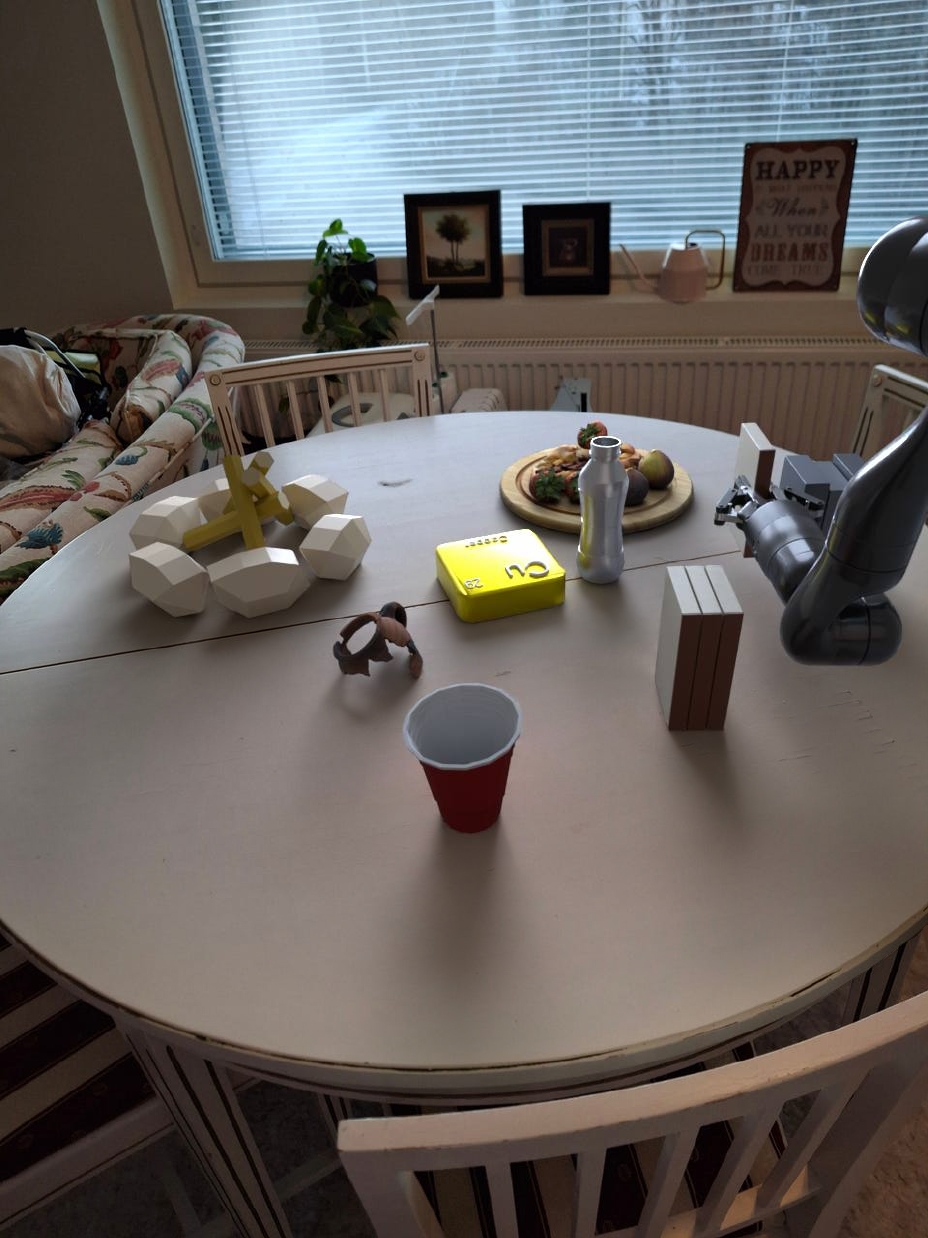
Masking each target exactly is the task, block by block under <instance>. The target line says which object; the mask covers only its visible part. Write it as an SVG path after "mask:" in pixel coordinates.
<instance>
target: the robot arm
mask: <svg viewBox="0 0 928 1238" xmlns="http://www.w3.org/2000/svg"><path fill="white" fill-rule="evenodd" d="M855 294H856V295H855V296H856V306H857V310H858V314H859V317H860V319H861V322H862V324H863V325H864V327H865V328H866V329H867V330H868V332H869V333H870V334H872V335H873V336H874V337H876V338H877V339H878V340H879V341H881V342H883V343H885V344H887V345H891V346H893V347H896V348H899V349H901V350H904V351H907V352H909V353H912V354H915V355H917V356H919V357H924V358H926V359H928V214H920V215H916V216H914V217H911V218H908V219H906V220H903V221H901V222H899V223H898V224H896V225H895V226H893V227H891V228H890V229H889V230H888V231H887V232H885V233H884V234H883V235H882V236H881V237H880V238H879V239H878V240H877V241H876V242H875V243H874V245H872V247H871V249H869V251H868V253H867V255H866V256H865V258H864V260H863V261H862V264H861V267H860V270H859V273H858V277H857V281H856V293H855ZM865 462H866V463H865V464H864V465H863V466H862V467H861V468H860V469H859V470H858V471H857V472H856V473H855V474H854V475H853V476H852V478H851V479H850V480H849V482H848V483H847V485H846V487H845V489H844V490H843V492H842V494H841V496H840V498H839V501H838V503H837V506H836V509H835V513H834V516H833V519H832V522H831V526H830V529H829V532H828V535H827V537H826V536H825V534H824V533H823V531H822V530H821V529H820V527H819V526H818V524H817V523H818V522H821V519H822V515H823V510H824V505H825V502H824V501H822V500H820V499H817V498H815V497H813V496H811V495H809V494H806V493H804V492H802V491H800V490H798V489H796V488H793V487H790V486H787V487H784V490H783V489H779V486H778V484H777V485H776V484H774V483H773V481H772V480H771V482H770V488H769V494H768V499H763V498H762V497H761V495H760V494H759V493H758V492H757V491H753V490H752V488H751V485H750V483H749V482H748V480H747V478H746V477H745V475H739V476H738V479H735V483H734V488H733V487H732V488H731V487H730V488H728V489H727V490H726V492H725V493H724V494H723V495H722V497H721V498H720V500H719V501H718V502H717V504H716V505H715V512H714V518H713V519H714V520H713V524H714V525H715V526H718V527H722V526H724V525H725V524H726V523H728V522H732V523H735V524H736V527H737V528H738V529H740V530H742V531H743V532H744V535H745V538H746V541H747V543H748V545H749V547H750V549H751V551H752V553H753V554H754V556H755V558H754V559H755V562H756V563H757V564H758V567H759V568H760V569H761V571H762V573H763V575H764V576H765V577H766V578H767V580H768V581H769V582H770V584H771V585H772V587H773V589H774V590H775V592H776V595H777V596H778V598H779V600H780V602H781V603H782V605H783V606H784V609H783V612H782V614H781V618H780V622H779V639H780V643H781V646H782V648H783V650H784V653H785V654H787V656H788V657H789V659H791V660H793V662H795V663H797V664H799V665H802V666H809V667H812V666H813V667H873V666H879V665H882V664H884V663H887V662H889V660H891V659H893V658H894V656H895V655H897V652H898V651H899V649H900V648H901V645H902V641H903V638H904V637H903V636H904V628H903V622H902V618H901V615H900V613H899V611H898V609H897V606H896V605H895V604H894V602H893V601H892V599H890V597H889V596H888V595H887V594H886V592H888V591H890V590H893V589H895V587H897V586H898V585H899V584H900V583H901V581H902V580H903V578H904V576H905V574H906V572H907V570H908V567H909V564H910V562H911V560H912V557H913V554H914V551H915V549H916V547H917V544H918V541H919V539H920V537H921V534H922V532H923V530H924V529H923V528H924V526H925V524H926V521H927V518H928V403H926V405H925V407H924V409H923V410H922V411H921V412H920V414H919V415H918V416H917V417H916V418H915V420H914V421H912V423H911V424H910V425H908V426H907V427H906V429H904V431H902V432H901V433H900V434H898V435H897V436H896V438H894V439H893V440H892V441H891V442H889V443H888V444H887V445H886V446H884V447H883V448H882V449H881V450H879V451H878V452H876V454H873V456H872V457H871V458H869V459H868V460H867V461H865ZM793 497H795V498H796V500H797V501H793V500H792V499H793ZM737 505H739V506H740V508H741V510H740V511H739V512H738V513H736V512H735V508H736V506H737Z"/></svg>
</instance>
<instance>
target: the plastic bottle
mask: <svg viewBox="0 0 928 1238" xmlns="http://www.w3.org/2000/svg"><path fill="white" fill-rule="evenodd" d="M621 443H622V442H621V440H620V439H619V438H617V437H614V436H608V437H607V436H603V437H597V438H594V439H592V441H591V449H590V452H589V455H590V457H591V459H590V461H589V462H588V463H587V464H586V465H585V466H584V468H583V469H582V470H581V472H580V475H579V478H578V488H579V496H580V503H581V517H582V518H581V533H580V534H579V542H578V544H579V545H578V547H577V551H576V556H575V564H576V565H575V566H576V571H577V573H578V574H579V576H580V577H581V578H582V579H583V580H585V581H587V582H589V583H593V584H609V583H612V582H615V581H617V580H618V578H619V577H620V576H621V575H622V574H623V572H624V568H625V563H626V560H625V552H624V546H623V545H624V544H623V534H622V518H623V511H624V505H625V500H626V495H627V491H628V485H629V478H628V475H627V472H626V470H625V468H624V467H623V465H622V464H621V463H620V461H619V460H618V458H619V457H620V455H621V451H620V446H621Z"/></svg>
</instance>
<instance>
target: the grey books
mask: <svg viewBox="0 0 928 1238" xmlns="http://www.w3.org/2000/svg"><path fill="white" fill-rule="evenodd" d="M866 462H867V461H865V460H864V459H863V458H862V457H861V456H860V455H859V454H858V453H857V452H853V453H851V452H849V453H834V454H833V457H832V461H830V460H824V461H822V460H821V461H813V459H812V458H811V457H810V456H809V455H808V454H793V455H792V454H791V455H790V454H789V455H784V459H783V465H782V469H781V475H780V481H779V486H778V487H779V489H783V490H784V487H787V486H790V487H793V488H796V489H798V490H800V491H802V492H804V493H806V494H809V495H811V496H813V497H815V498H817V499H820V500H822V501H824V502H825V505H824V510H823V515H822V519H821V522H818V523H817V524H818V526H819V527H820V529H821V530H822V531H823V533H824V534H825V536H826V537H827V535H828V532H829V529H830V526H831V522H832V519H833V516H834V513H835V509H836V506H837V503H838V501H839V498H840V496H841V494H842V492H843V490H844V489H845V487H846V485H847V483H848V482H849V480H850V479H851V478H852V476H853V475H854V474H855V473H856V472H857V471H858V470H859V469H860V468H861V467H862V466H863V465H864V464H865V463H866ZM792 500H793V501H797V500H796V498H795V497H793V499H792Z"/></svg>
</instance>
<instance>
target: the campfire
mask: <svg viewBox="0 0 928 1238" xmlns="http://www.w3.org/2000/svg"><path fill="white" fill-rule="evenodd" d="M274 463H275V459H274V458H273V456H272V455H271V454H270V452H268V451H262V450H258V451H257V452H256V454H255V455H254V457H253V458H252V460H251V462H250V463H249V465H248V467H247V468H246V469H245V468H244V464H243V461H242V458H241V455H240V454H229V455H227V456H224V457H222V458H221V464H222V467H223V470H224V474H225V477H223V478H219V479H218V478H217V479H215V480H213V481H212V482H211V483H210V484H209V485H208V486H207V487H205V488H204V489H202V491H201V492H200V493H199V494H197V496H196V497H187V496H178V495H173V496H170V497H168V498H164V499H162V500H159V501H157V502H155V503H153V504H152V505H150V506H149V507H148V508H146V509H145V510H143V511H142V512H141V513H139V515H138V517H137V518H136V521H135V522H134V524H133V526H131V529H130V530H129V532H128V536H129V538H130V540H131V541H132V542H131V543H132V545H133V546H134V548H135V551H134V552H131V553H128V560H129V569H130V577H131V578H130V579H131V585H132V588H133V589H134V590H135V591H137V592H138V593H140V594H141V595H142V596H143V597H145V598H146V599H147V600H148V601H150V602H152V603H153V604H154V605H155V606H157V607H158V608H160V609H161V610H164V611H165V612H166V613H168V614H169V615H170V616H172V617H174V618H178V617H183V616H189V615H195V614H198V613H203V609H204V605H205V600H206V597H207V596H206V595H207V591H208V586H209V582H211V585H212V588H213V590H214V593H215V596H216V598H217V601H218V603H219V604H220V605H222V606H224V607H227V608H228V609H229V610H232V611H234V612H236V613H238V614H240V615H242V616H244V617H246V618H248V619H251V618H255V617H259V616H263V615H267V614H270V613H274V612H275V613H276V612H278V611H282V610H286V609H289V608H290V607H291V606H292V605H293V604H294V603H295V602H296V601H297V600H298V599H299V598H300V597H301V596H302V595H303V593H305V591H306V590H307V589H308V588H309V587H310V586H311V584H310V582H309V579H308V577H307V575H306V574H305V572H304V570H303V568H302V566H301V564H300V562H299V561H298V558H297V557H296V554H295V553H294V551H293V550H292V549H285V548H278V547H270V546H267V544H266V539H265V536H264V534H263V530H262V526H264V525H267V524H269V523H271V522H273V521H277V522H279V523H280V524H282V525H283V526H285V527H287V526H290V524H293V523H295V524H296V525H297V526H298V527H301V528H303V529H305V530H307V531H308V533H307V535H306V537H305V538H304V539H303V541H302V542H301V544H300V545H299V546H298V548H299V552H300V554H301V555H302V557H303V558H304V559H305V561H306V562H307V564H308V565H309V566H310V568H311V569H312V570H313V571H314V573H315V575H316V576H317V577H318V578H322V579H331V580H338V581H339V580H340V581H347V580H348V579H349V578H350V576H351V575H352V574H353V573H354V571H356V569H357V568H358V567H359V565H360V564H361V563H362V561H363V559H364V557H365V555H366V553H367V551H368V550H369V548H370V545H371V543H372V541H373V540H372V537H371V535H370V532H369V529H368V526H367V524H366V520H365V518H364V516H361V515H359V516H358V515H350V514H349V515H348V514H344V512H345V508H346V504H347V501H348V497H349V494H350V491H349V490H348V489H346V488H344V487H342V486H341V485H339V484H338V483H336V481H335V482H334V481H333V480H331V479H330V478H327V477H325V476H322V475H319V474H317V473H313V474H308V475H305V476H302V477H300V478H297V479H295V480H293V481H290V482H288V483H285V484H283V485H281V486H280V487H281V491H280V490H277V489H276V488H275V487H274V485H273V484H272V483H271V482H270V481H269V480H268V478H267V477H266V475H267V474H268V472H270V469H271V467H272V466H273V464H274ZM200 512H201V513H202V515H203V517H204V519H205V520H206V522H205V523H203V524H202V519H201V513H200ZM236 533H242V536H243V540H244V544H245V547H246V550H245V551H239V552H237V553H234V554H233V555H230V556H227V557H225V558H222V559H221V560H218V561H216V562H214V563H210V564H209V565H206V568H204V567H203V566H202V565H201V564H200V563H198V562H197V561H196V560H194V558H193V557H191V556H189V555H188V554H190V553H191V552H192V551H193V552H194V551H196V550H199V549H201V548H203V547H207V546H208V545H210V544H213V543H215V542H218V541H219V540H222V539H224V538H226V537H228V536H231V535H233V534H236Z"/></svg>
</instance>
